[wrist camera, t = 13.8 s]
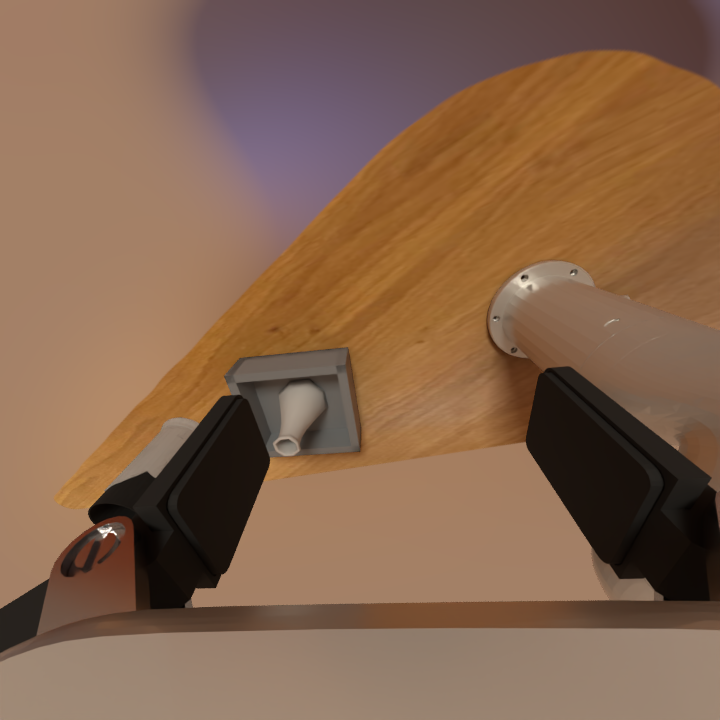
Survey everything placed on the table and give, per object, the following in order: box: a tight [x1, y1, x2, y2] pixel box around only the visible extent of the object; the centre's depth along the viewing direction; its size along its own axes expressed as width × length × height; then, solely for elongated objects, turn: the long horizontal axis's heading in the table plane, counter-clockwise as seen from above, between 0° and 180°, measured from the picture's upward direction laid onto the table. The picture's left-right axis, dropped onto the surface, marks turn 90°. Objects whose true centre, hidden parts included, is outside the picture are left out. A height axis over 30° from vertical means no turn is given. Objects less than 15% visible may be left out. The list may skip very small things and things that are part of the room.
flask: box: [273, 379, 328, 457], centre depth 38 cm, size 7×7×10 cm
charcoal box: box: [224, 347, 361, 457], centre depth 42 cm, size 16×15×5 cm
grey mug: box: [88, 418, 199, 525], centre depth 43 cm, size 9×14×15 cm, turn 38°
